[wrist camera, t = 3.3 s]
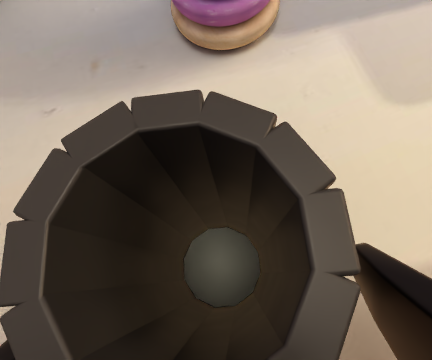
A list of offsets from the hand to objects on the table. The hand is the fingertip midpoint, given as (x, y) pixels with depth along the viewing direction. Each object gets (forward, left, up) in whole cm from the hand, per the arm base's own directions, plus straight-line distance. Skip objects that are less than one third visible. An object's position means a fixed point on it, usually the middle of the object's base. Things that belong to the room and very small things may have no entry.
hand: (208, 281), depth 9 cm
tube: (+1, 0, -8) cm, 8 cm away
